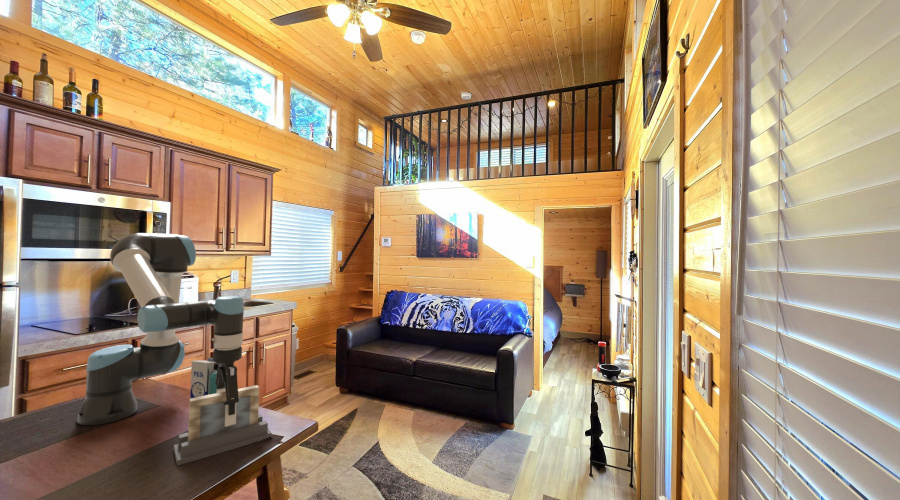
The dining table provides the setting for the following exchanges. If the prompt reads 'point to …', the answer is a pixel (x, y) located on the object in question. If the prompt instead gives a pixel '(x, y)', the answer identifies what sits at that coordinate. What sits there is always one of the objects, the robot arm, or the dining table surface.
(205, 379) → the milk carton
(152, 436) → the dining table surface
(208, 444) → the display stand
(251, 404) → the picture frame
